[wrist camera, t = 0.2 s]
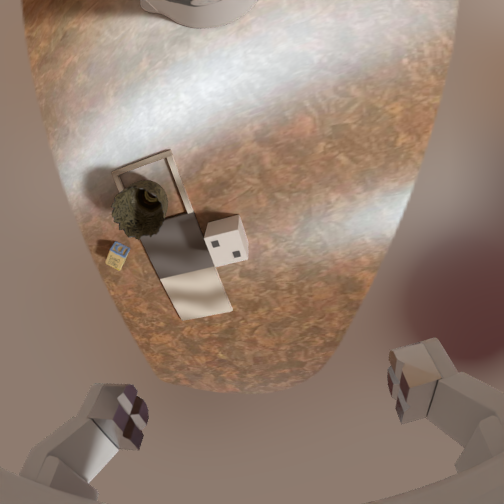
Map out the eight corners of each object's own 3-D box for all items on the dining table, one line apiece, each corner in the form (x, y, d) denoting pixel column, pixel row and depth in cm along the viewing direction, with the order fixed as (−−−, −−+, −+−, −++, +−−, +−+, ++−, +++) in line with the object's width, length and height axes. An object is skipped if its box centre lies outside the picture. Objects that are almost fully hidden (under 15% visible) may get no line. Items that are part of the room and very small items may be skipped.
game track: (112, 171, 44) (111, 172, 44) (170, 149, 43) (169, 150, 42) (182, 318, 59) (182, 320, 58) (232, 308, 58) (232, 311, 57)
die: (208, 222, 49) (203, 238, 44) (239, 214, 48) (238, 229, 44) (218, 249, 51) (215, 267, 47) (248, 242, 50) (248, 259, 46)
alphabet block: (131, 248, 51) (125, 258, 49) (125, 261, 53) (119, 271, 50) (115, 240, 50) (109, 249, 48) (110, 253, 52) (104, 263, 49)
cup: (135, 216, 48) (118, 241, 41) (126, 172, 44) (105, 191, 37) (180, 213, 48) (168, 238, 41) (172, 166, 44) (158, 185, 37)
